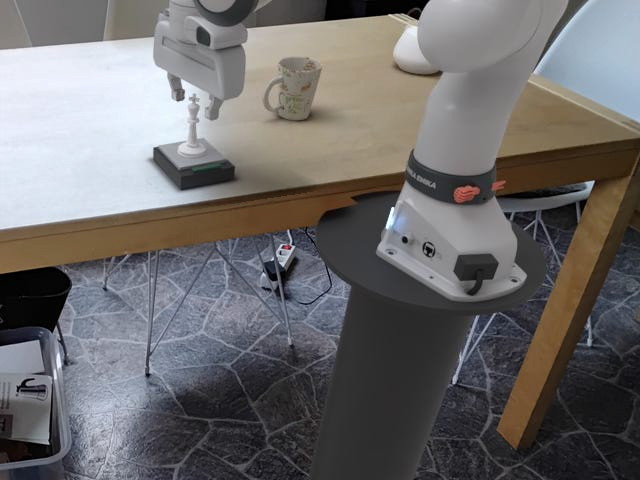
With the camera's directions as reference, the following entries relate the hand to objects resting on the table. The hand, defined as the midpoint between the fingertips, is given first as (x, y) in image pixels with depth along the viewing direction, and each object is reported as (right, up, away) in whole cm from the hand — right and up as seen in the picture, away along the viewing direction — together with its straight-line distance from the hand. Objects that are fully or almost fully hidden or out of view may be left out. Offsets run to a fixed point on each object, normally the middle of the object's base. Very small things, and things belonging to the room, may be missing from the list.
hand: (194, 109), depth 120 cm
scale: (0, -8, +7) cm, 11 cm away
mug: (+19, +7, +25) cm, 32 cm away
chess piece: (0, -6, +5) cm, 8 cm away
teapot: (+54, +25, +47) cm, 76 cm away
